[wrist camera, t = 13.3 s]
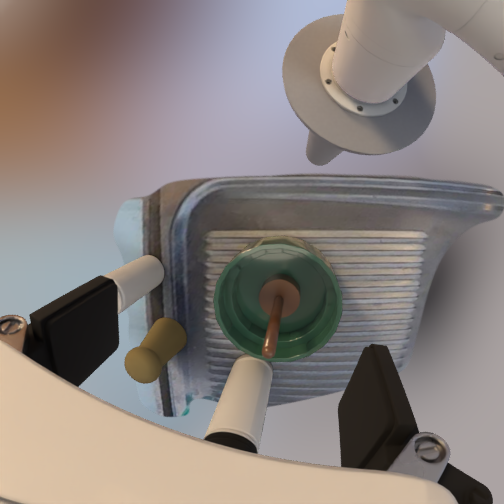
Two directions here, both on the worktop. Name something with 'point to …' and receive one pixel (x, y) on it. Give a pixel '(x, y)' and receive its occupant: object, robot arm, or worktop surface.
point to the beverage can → (136, 279)
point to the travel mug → (242, 405)
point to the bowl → (256, 320)
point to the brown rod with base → (277, 306)
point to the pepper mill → (155, 350)
